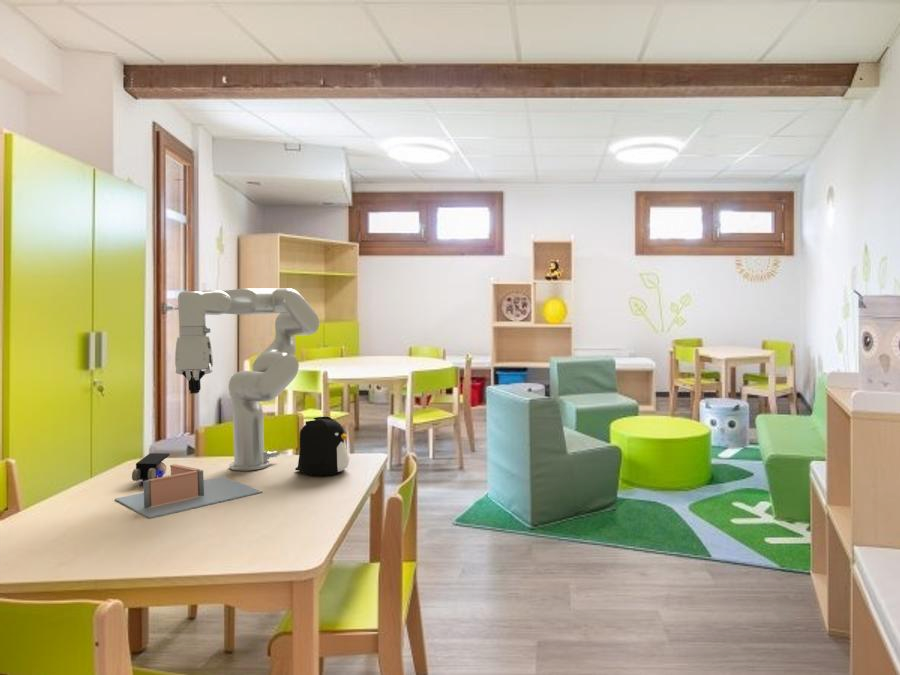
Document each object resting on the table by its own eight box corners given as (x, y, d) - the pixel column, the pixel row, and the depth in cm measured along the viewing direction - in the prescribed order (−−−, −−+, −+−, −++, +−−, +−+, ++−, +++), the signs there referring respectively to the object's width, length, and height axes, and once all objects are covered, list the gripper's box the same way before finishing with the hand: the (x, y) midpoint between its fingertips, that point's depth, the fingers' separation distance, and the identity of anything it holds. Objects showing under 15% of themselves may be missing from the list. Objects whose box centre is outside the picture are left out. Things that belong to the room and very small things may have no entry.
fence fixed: (202, 495, 201) (201, 469, 200) (205, 496, 200) (204, 470, 199) (143, 508, 189) (142, 480, 189) (145, 509, 188) (144, 481, 188)
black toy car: (155, 492, 211) (171, 473, 226) (153, 467, 209) (170, 450, 224) (131, 492, 210) (150, 474, 225) (129, 468, 209) (148, 451, 224)
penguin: (339, 480, 215) (338, 423, 214) (283, 478, 218) (282, 422, 217) (357, 466, 233) (356, 413, 232) (305, 464, 236) (304, 413, 235)
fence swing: (200, 492, 201) (200, 469, 200) (196, 493, 200) (195, 470, 199) (175, 486, 208) (174, 464, 207) (170, 487, 206) (170, 465, 206)
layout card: (222, 477, 220) (222, 476, 220) (262, 492, 203) (262, 490, 203) (114, 499, 198) (114, 498, 198) (149, 518, 181) (149, 516, 181)
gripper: (221, 331, 217) (223, 391, 219) (172, 332, 218) (175, 391, 219) (213, 332, 210) (215, 394, 211) (162, 333, 210) (165, 395, 211)
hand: (194, 392), depth 215 cm, fingers closed
